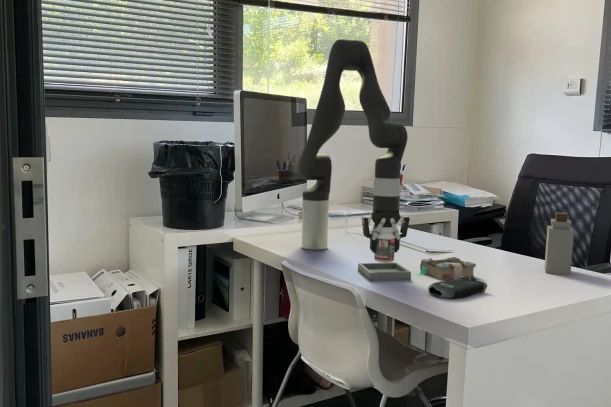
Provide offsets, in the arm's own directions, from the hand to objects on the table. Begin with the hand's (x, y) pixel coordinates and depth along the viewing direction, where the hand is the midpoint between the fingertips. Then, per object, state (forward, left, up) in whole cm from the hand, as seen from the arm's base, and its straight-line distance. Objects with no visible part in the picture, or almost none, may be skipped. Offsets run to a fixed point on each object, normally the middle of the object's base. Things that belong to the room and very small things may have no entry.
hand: (384, 251), depth 165 cm
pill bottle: (0, 0, -3) cm, 3 cm away
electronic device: (+19, +13, -8) cm, 25 cm away
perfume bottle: (+1, +55, -7) cm, 55 cm away
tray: (0, 0, -7) cm, 7 cm away
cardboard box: (+2, +18, -8) cm, 20 cm away
